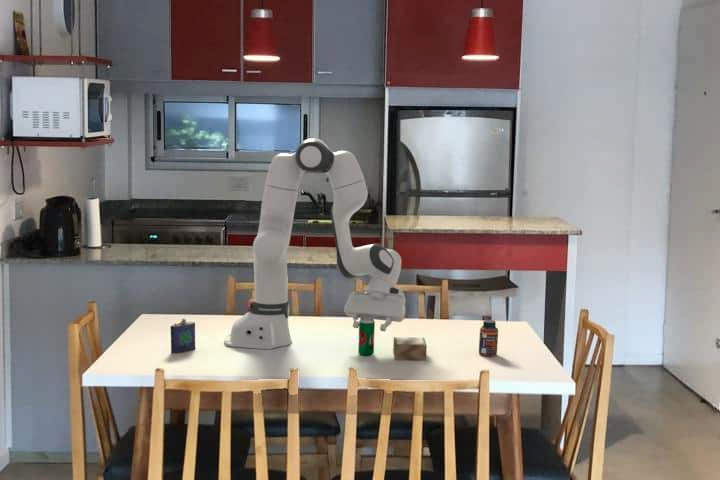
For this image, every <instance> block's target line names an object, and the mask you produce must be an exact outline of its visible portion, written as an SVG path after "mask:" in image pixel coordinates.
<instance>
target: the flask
mask: <svg viewBox="0 0 720 480" xmlns="http://www.w3.org/2000/svg"><path fill="white" fill-rule="evenodd" d="M194 350H196V322H195V321H188V322H187V319H185V318H181V321H180V322H177V323H174V324H172V325H171V326H170V354H173V355H177V354H181V353H186V352H191V351H194Z"/></svg>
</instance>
